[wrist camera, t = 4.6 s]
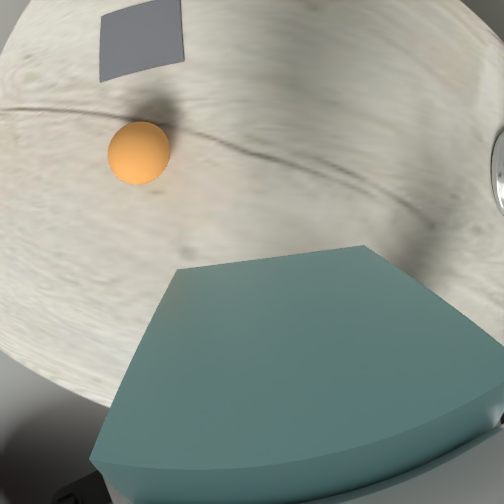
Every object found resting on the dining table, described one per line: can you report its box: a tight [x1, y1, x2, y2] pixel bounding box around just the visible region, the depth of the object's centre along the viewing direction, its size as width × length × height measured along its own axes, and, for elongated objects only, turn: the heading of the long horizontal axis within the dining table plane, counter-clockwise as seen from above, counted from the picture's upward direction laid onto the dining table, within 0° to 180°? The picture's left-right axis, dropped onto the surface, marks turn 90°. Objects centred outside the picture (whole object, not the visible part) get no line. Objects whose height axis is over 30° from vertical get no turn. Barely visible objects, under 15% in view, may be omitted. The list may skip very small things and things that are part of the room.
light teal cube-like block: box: [89, 245, 504, 504], centre depth 8 cm, size 8×8×9 cm
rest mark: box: [100, 0, 184, 83], centre depth 19 cm, size 8×8×1 cm
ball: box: [108, 121, 170, 184], centre depth 21 cm, size 5×5×5 cm
